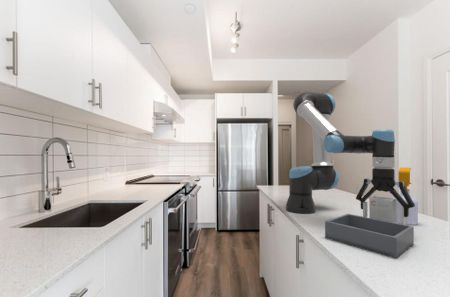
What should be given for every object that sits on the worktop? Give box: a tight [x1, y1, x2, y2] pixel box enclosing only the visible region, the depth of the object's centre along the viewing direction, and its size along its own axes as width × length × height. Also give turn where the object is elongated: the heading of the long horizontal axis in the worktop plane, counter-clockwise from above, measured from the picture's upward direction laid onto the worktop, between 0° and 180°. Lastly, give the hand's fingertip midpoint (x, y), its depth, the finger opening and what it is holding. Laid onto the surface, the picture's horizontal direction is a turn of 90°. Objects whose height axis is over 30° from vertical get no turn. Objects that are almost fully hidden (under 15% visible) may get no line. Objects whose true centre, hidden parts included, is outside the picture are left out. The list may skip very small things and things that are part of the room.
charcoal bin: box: [324, 213, 415, 259], centre depth 86 cm, size 22×18×6 cm
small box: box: [368, 195, 398, 224], centre depth 98 cm, size 8×6×13 cm
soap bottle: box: [393, 166, 419, 226], centre depth 110 cm, size 9×9×25 cm
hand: (383, 221), depth 98 cm, fingers open, 13 cm apart
